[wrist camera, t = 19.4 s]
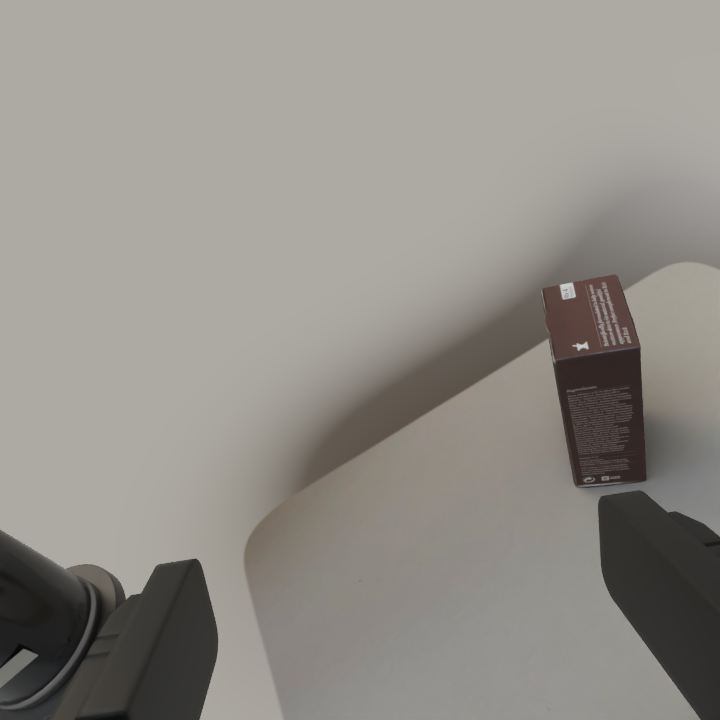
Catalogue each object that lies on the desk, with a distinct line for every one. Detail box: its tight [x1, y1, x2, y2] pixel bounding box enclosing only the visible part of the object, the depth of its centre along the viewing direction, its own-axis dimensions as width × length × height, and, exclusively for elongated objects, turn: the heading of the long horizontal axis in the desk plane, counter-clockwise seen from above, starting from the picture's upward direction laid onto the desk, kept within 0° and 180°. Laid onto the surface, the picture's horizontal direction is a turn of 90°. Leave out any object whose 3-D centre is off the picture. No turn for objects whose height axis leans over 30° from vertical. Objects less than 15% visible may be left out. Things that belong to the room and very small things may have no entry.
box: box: [541, 275, 646, 487], centre depth 33 cm, size 6×4×12 cm
